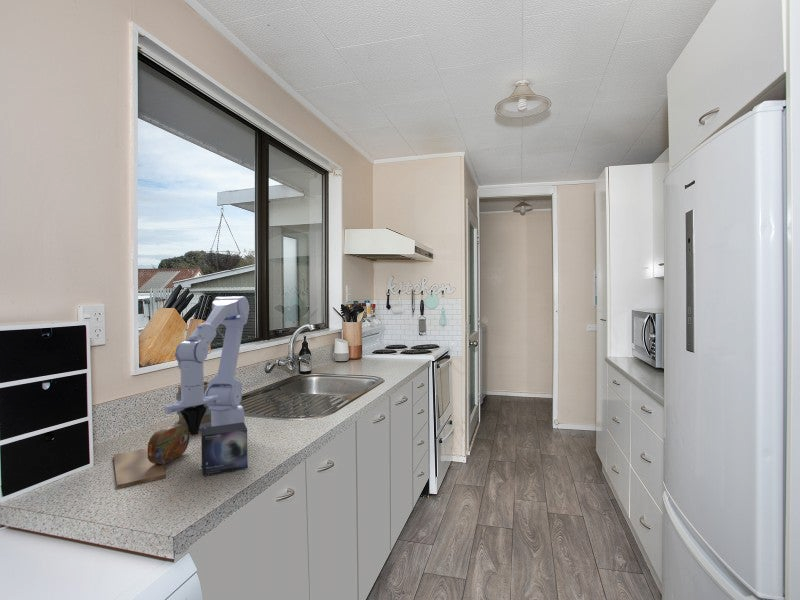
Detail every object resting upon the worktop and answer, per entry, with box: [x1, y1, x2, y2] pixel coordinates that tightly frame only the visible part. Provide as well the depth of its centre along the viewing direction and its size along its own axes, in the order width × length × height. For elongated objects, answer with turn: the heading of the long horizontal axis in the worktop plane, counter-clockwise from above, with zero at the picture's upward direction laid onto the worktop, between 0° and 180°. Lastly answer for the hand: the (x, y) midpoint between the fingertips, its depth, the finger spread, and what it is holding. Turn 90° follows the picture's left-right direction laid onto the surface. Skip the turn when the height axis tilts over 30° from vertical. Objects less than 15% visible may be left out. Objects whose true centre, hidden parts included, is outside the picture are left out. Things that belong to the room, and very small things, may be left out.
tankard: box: [174, 380, 227, 431], centre depth 154 cm, size 20×13×15 cm, turn 132°
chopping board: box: [113, 447, 167, 489], centre depth 115 cm, size 10×24×1 cm, turn 34°
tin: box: [147, 424, 190, 465], centre depth 119 cm, size 15×3×8 cm, turn 174°
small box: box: [200, 422, 249, 477], centre depth 113 cm, size 11×6×10 cm, turn 117°
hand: (193, 433), depth 123 cm, fingers closed
